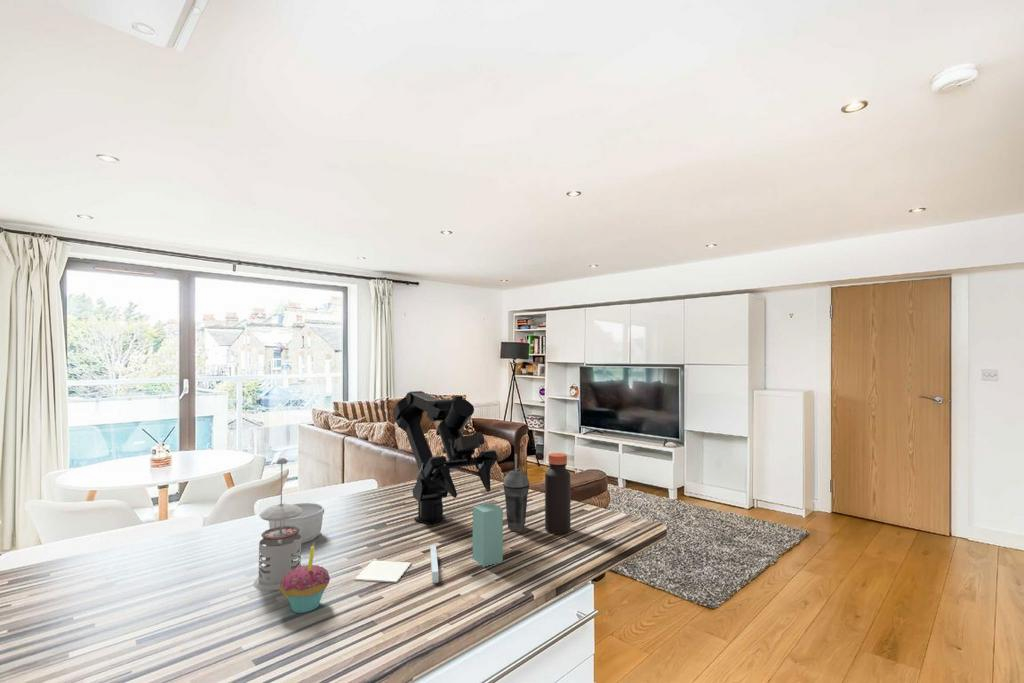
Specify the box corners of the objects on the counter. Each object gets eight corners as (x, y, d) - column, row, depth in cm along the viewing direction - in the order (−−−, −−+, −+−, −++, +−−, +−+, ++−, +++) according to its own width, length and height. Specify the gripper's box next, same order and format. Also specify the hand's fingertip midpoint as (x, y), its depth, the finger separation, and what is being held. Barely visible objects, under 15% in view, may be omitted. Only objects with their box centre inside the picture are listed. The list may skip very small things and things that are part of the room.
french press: (252, 595, 93) (255, 464, 94) (253, 571, 103) (255, 454, 104) (307, 584, 98) (309, 460, 99) (303, 562, 108) (305, 450, 109)
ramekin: (254, 543, 119) (255, 514, 120) (296, 525, 132) (297, 500, 132) (295, 551, 114) (295, 521, 115) (335, 532, 127) (335, 505, 127)
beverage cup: (530, 524, 133) (530, 451, 134) (528, 533, 126) (528, 456, 127) (504, 523, 134) (504, 450, 135) (501, 532, 127) (501, 456, 127)
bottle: (571, 535, 125) (571, 457, 126) (545, 534, 125) (545, 457, 126) (569, 525, 132) (569, 452, 132) (544, 525, 132) (544, 452, 133)
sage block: (472, 559, 110) (472, 506, 110) (491, 554, 113) (491, 502, 113) (483, 567, 106) (483, 512, 106) (502, 562, 108) (502, 508, 109)
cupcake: (339, 601, 91) (340, 536, 91) (302, 623, 83) (303, 553, 84) (306, 591, 95) (307, 529, 95) (268, 612, 87) (269, 545, 87)
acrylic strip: (430, 555, 112) (430, 545, 112) (435, 554, 112) (435, 545, 112) (432, 582, 98) (432, 572, 98) (438, 582, 98) (438, 571, 99)
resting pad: (372, 561, 108) (372, 560, 108) (411, 564, 107) (411, 562, 107) (354, 580, 99) (354, 578, 99) (396, 582, 98) (396, 581, 98)
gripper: (429, 424, 116) (449, 482, 107) (495, 418, 126) (518, 471, 117) (416, 450, 122) (433, 506, 113) (479, 443, 133) (500, 494, 124)
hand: (472, 493), depth 117 cm, fingers open, 9 cm apart
